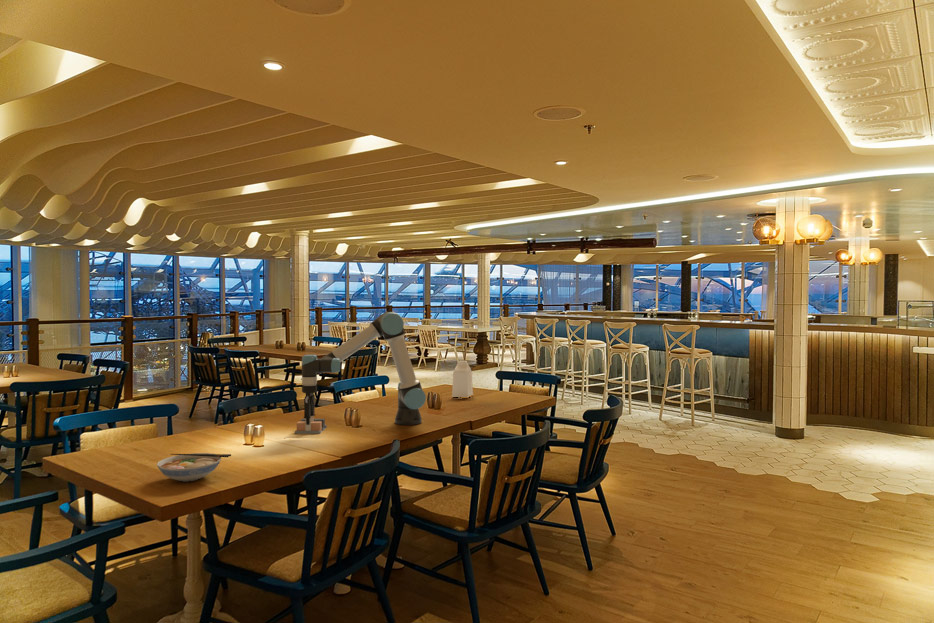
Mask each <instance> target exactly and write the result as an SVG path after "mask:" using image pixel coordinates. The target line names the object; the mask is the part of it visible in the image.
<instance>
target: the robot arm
mask: <svg viewBox="0 0 934 623" xmlns="http://www.w3.org/2000/svg"><path fill="white" fill-rule="evenodd" d="M404 323H405V322H404V319H403V317H402V316H401V315H400V314H398V313H397V312H394V311H386V312H383V313H382V314H380V315H379V316H378V317H376V318H375V319H374V320H373V321H371V322H370V323H369V325H368V326H367V327H366V328H364V329H363V330H361V331H360V332H359V333H356V335H354V336H352V337H350V339H348V340H346V341H345V342H343V344H341V345H339V346H338V347H336V348H335V349H334V350H332V351H331V352H329V353H328V354H325V355H324V356H322V357H321V358H318V356H317V355H316V354H304V355H303V356H302V357H301V378H300V380H301V384H302V385H301V393H303V394H305V396H304V399H303V406H304V408H303V414H304V416H303V419H305V431H311V421H314V419H315V418H314V416H316V414H315V413H316V412H315V405H316V404H315V400H316V399H315V397H316V396H315V393H317V392H318V385H317V384H318V374H324V373H325V374H327V373H328V374H330V373H331V374H334V373H339V372H341V363H342V362H343V361H344V360H346V359H347V358H350V356H351V355H353V354H355V353H356V352H358V351H359V350H361V349H362V348H363V347H365V346H367V345H369V343H371V342H373V341H374V340H375V339H377V338H381V337H382V336H383V339H384V341H386V342H387V343H388V346H389V348H390V351H391V355H392V359H393V362H394V365H395V368H396V371H397V375H398V378H399V382H398V385H397V411H396V414H395V417H394V423H395V424H397V425H403V426H413V425H420V424H422V422H423V421H422V415H421V412H420V408H422V407H423V406H424V405H425V403H426V399H427V395H426V392H425V391H424V390H423V387H422V384H421V381H420V380H419V379H417V376H416V375H415V374H416V373H415V371H414V368H413V364H412V361H411V357H410V354H409V349H408V348H407V344H406V341H405V335H406V332H405V327H404V326H405V324H404Z"/></svg>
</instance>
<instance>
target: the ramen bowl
mask: <svg viewBox="0 0 934 623" xmlns="http://www.w3.org/2000/svg"><path fill="white" fill-rule="evenodd" d="M170 455H173V456H169V457H166V458H162V459H161V460H159V461H158V462H156V467H157V468H158V470H159V471H160V472H161V474H163V475H164V476H165V477H167V478H169V479H172V480H175V481H179V482H181V481H182V483H190V482H189V481H191V482H195V481H194V480H196V481H198V479H199V480H200V479H201V478H204V477H206V476H208V475H209V474H211V473H212V472H214V471H215V469H217V467H218V466H219V465H220V462H221V460H222V458H229V457H231V456H232V454H231V453H229V454H228V453H227V454H226V453H225V454H224V453H223V454H222V453H219V454H218V453H217V454H216V453H210V452H195V453H171V454H170Z"/></svg>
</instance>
